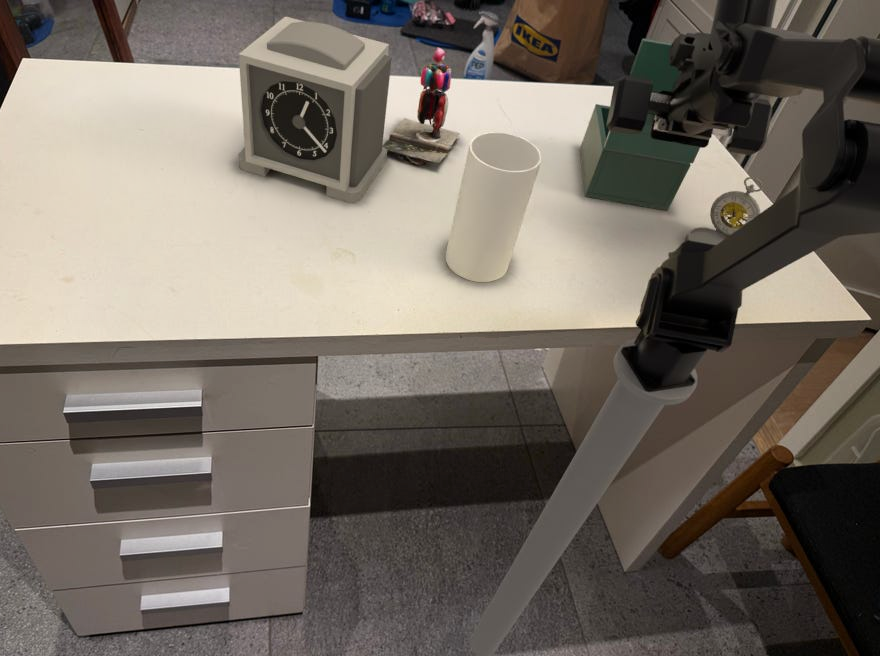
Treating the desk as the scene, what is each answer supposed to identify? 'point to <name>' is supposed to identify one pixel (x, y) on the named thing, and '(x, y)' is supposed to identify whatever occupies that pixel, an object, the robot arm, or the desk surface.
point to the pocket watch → (734, 206)
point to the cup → (491, 205)
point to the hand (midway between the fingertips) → (661, 134)
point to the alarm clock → (315, 106)
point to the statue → (433, 105)
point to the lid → (656, 68)
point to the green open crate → (626, 170)
